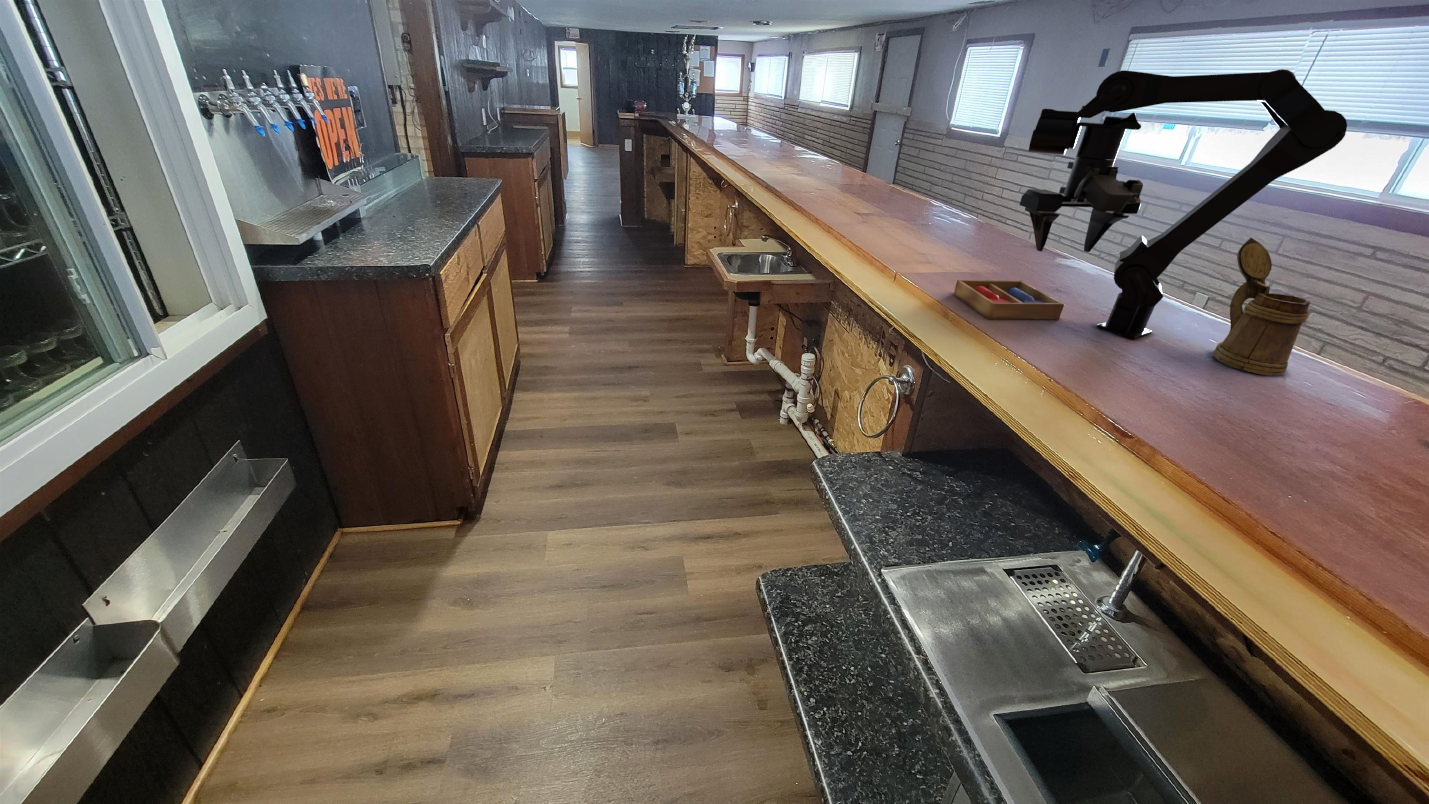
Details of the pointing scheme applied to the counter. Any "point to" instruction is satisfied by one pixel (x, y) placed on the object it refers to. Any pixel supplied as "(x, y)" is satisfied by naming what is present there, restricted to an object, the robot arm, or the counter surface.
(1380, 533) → the counter surface
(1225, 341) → the wooden mug
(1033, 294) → the cutlery tray
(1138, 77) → the robot arm
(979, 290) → the red spoon
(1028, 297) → the blue spoon
